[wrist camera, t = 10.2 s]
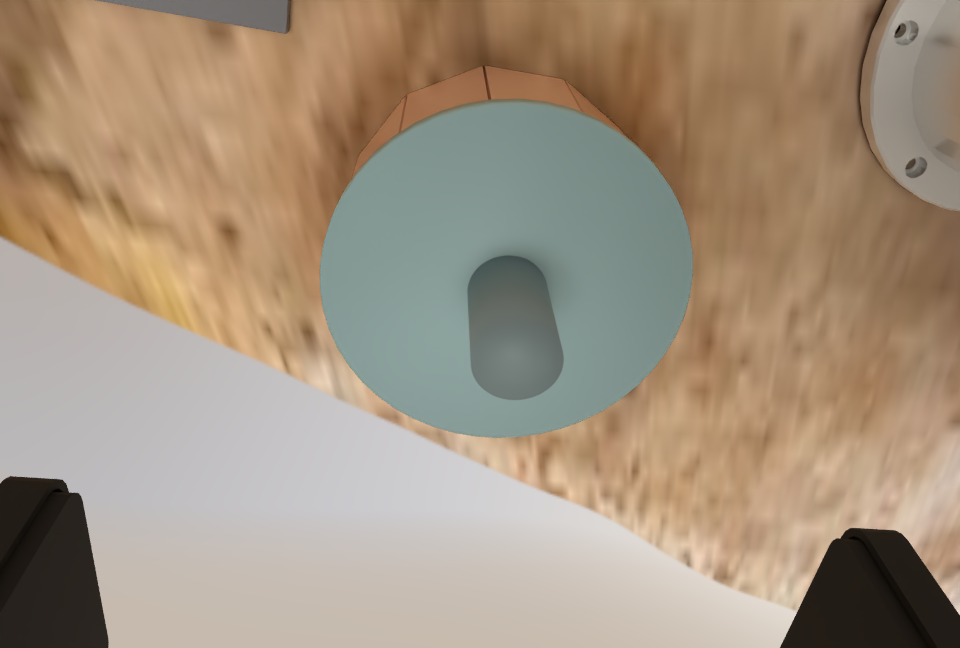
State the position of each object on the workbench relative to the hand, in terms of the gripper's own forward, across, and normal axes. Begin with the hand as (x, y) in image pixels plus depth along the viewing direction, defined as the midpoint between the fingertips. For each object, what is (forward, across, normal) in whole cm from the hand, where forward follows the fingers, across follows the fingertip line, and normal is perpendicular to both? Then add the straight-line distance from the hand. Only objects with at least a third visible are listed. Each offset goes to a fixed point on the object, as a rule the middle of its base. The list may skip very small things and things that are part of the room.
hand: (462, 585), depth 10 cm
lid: (+18, -2, +5) cm, 19 cm away
